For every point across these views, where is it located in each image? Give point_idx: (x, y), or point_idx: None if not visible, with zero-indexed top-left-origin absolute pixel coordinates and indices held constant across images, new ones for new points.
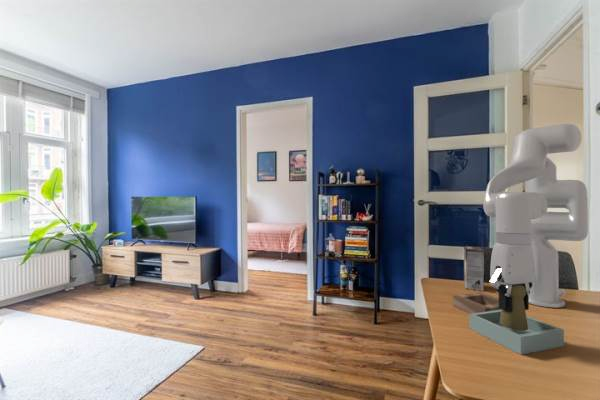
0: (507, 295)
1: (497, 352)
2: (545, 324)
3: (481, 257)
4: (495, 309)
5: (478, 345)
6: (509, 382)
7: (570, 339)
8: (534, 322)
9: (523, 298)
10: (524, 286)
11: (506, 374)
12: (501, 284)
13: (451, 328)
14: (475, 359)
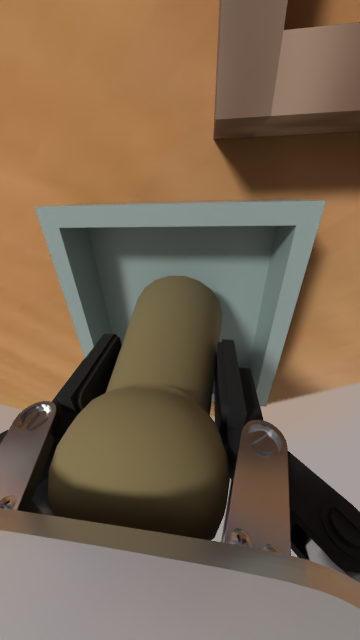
0: None
1: (69, 340)
2: (261, 373)
3: None
4: (313, 117)
5: (42, 306)
6: (29, 396)
7: (325, 357)
8: (266, 338)
9: (216, 423)
10: (222, 533)
11: (37, 385)
12: (5, 500)
13: (4, 181)
14: (4, 344)
